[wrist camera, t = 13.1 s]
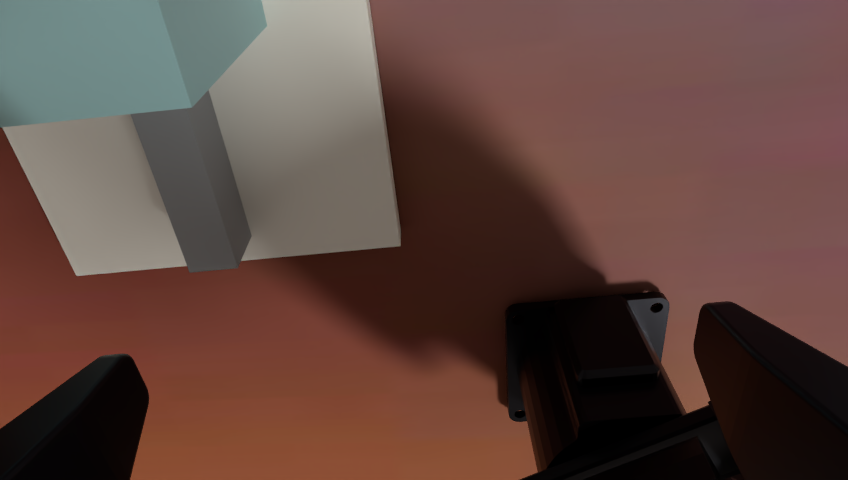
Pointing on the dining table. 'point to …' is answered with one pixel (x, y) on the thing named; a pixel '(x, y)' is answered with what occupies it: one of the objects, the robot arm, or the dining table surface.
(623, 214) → the dining table surface
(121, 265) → the cleat board
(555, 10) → the dining table surface
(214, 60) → the teal block
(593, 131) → the dining table surface
